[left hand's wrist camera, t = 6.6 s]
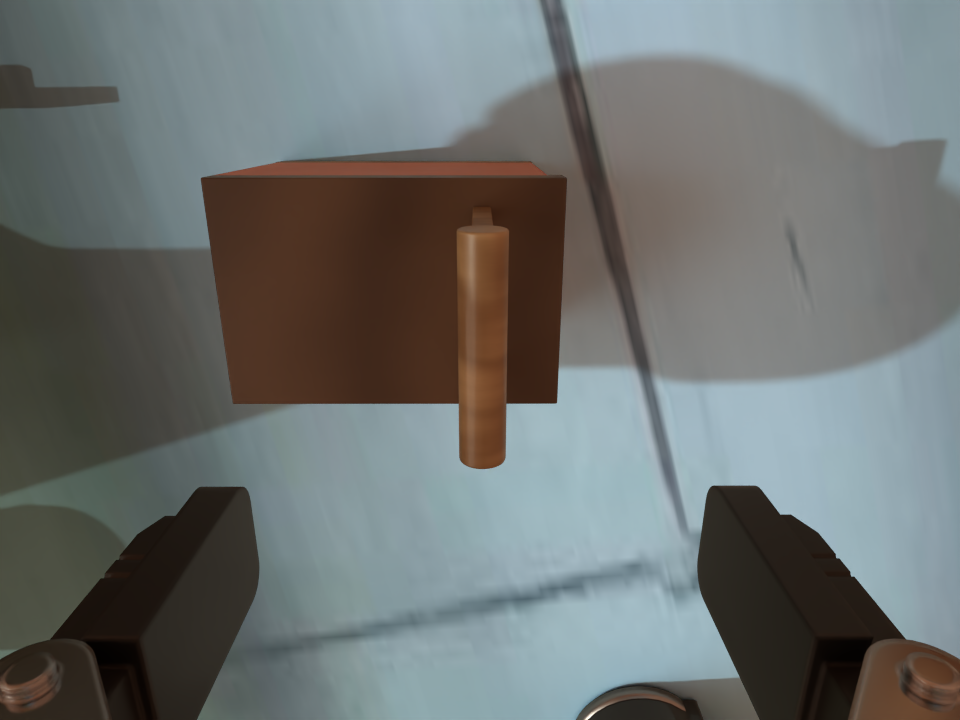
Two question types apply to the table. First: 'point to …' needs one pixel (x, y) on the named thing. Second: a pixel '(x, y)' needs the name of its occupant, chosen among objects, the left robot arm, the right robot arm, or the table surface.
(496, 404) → the lid
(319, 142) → the table surface
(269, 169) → the chest
